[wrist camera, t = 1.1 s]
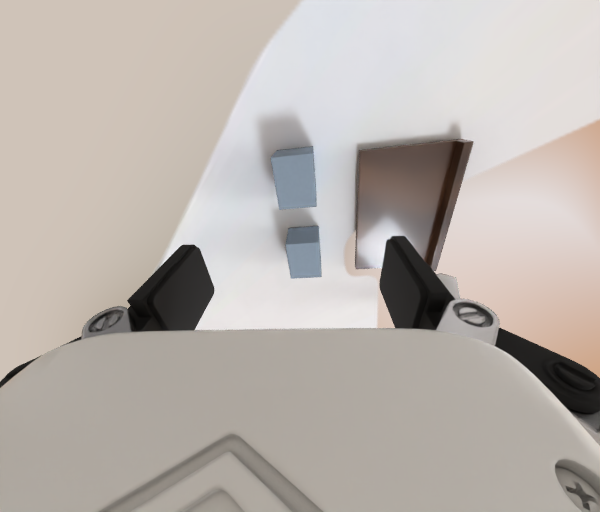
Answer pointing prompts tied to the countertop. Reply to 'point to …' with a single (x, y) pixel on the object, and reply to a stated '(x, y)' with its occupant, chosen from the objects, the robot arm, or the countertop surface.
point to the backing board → (408, 197)
